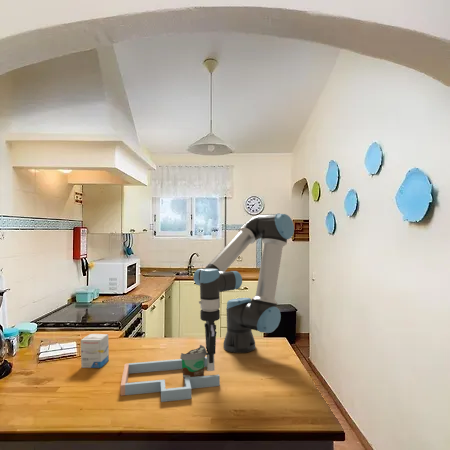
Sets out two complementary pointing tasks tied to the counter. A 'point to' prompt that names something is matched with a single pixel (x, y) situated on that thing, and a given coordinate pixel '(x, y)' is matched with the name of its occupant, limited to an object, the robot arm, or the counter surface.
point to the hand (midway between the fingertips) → (210, 370)
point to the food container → (193, 362)
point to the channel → (159, 385)
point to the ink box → (94, 351)
